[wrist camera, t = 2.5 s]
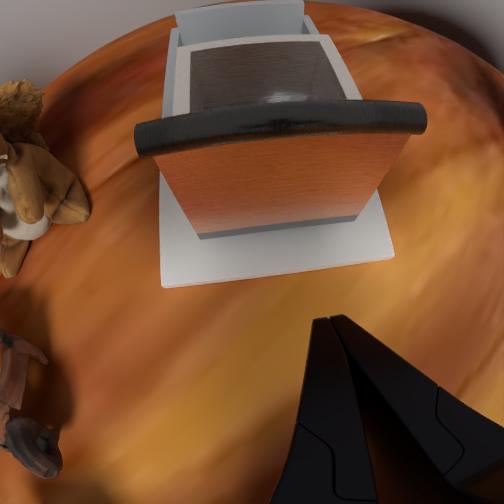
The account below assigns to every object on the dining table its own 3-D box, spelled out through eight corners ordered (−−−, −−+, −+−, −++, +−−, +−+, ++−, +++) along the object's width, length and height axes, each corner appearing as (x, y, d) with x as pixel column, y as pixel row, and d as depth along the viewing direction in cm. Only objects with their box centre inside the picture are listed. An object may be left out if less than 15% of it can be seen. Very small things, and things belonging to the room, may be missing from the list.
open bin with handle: (353, 232, 19) (431, 121, 8) (200, 251, 19) (132, 145, 8) (318, 111, 22) (340, -10, 11) (194, 124, 22) (159, 3, 11)
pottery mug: (-9, 414, 17) (-68, 369, 11) (46, 351, 23) (-3, 294, 17) (63, 512, 12) (-15, 494, 6) (129, 433, 18) (70, 390, 12)
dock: (390, 258, 19) (430, 228, 14) (165, 288, 19) (128, 266, 14) (313, 43, 26) (319, -1, 20) (170, 58, 26) (157, 15, 20)
